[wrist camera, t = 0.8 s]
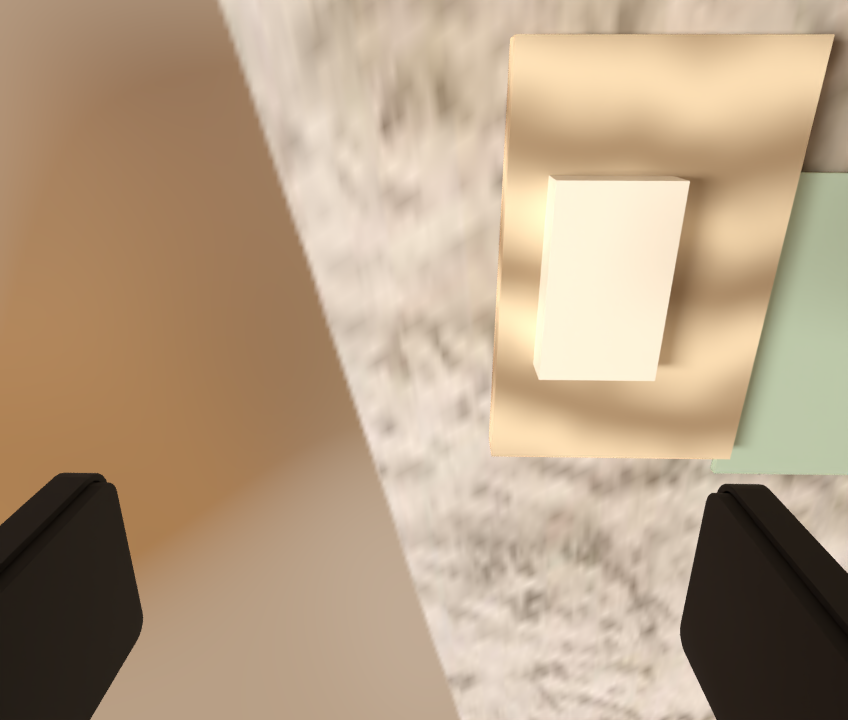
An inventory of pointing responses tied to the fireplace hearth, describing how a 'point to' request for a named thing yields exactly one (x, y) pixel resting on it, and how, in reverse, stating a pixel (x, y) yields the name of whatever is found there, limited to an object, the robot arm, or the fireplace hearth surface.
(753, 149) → the wavy wooden board
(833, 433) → the mat
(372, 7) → the fireplace hearth surface
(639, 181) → the cream rectangular block
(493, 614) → the fireplace hearth surface
